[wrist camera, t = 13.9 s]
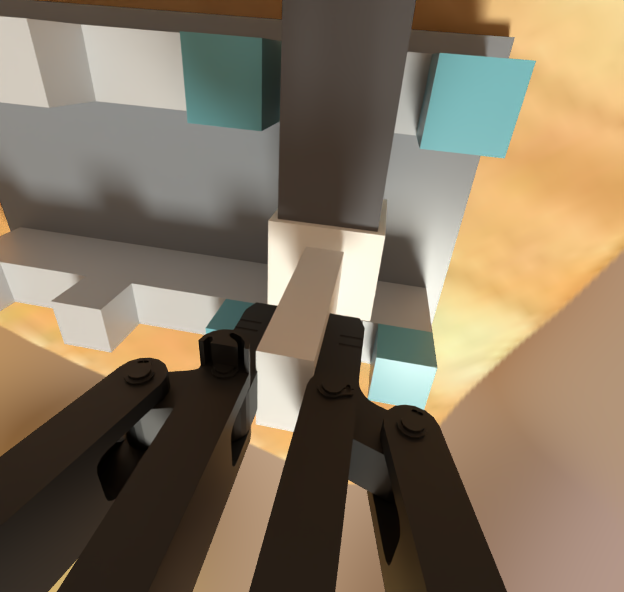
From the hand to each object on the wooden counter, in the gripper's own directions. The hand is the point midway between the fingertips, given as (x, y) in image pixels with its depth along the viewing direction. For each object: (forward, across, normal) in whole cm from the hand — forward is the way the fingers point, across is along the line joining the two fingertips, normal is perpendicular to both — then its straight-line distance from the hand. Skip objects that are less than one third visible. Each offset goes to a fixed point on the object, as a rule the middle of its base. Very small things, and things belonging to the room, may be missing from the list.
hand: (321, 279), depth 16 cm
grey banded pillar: (+5, 0, 0) cm, 5 cm away
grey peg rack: (+11, -9, 0) cm, 14 cm away
